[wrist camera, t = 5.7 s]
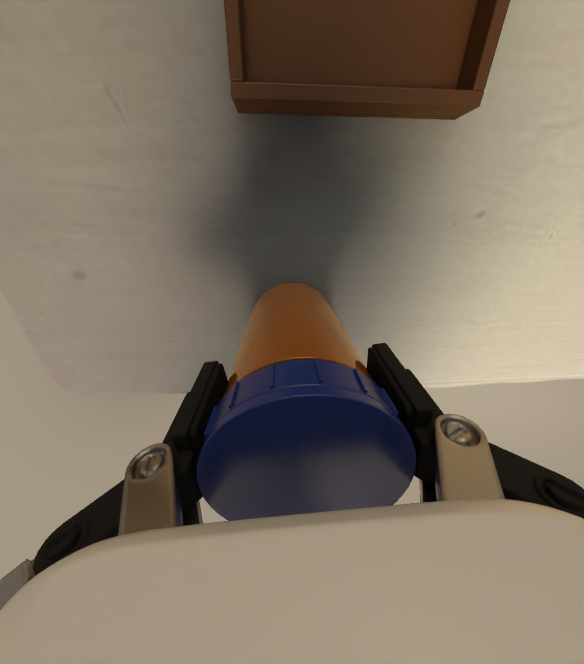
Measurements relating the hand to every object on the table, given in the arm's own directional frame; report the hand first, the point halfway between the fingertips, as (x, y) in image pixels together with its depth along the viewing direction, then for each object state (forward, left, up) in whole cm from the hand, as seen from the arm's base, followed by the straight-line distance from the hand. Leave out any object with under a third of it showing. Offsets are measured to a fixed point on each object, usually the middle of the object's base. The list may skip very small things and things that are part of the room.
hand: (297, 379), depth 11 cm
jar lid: (0, 0, +4) cm, 4 cm away
